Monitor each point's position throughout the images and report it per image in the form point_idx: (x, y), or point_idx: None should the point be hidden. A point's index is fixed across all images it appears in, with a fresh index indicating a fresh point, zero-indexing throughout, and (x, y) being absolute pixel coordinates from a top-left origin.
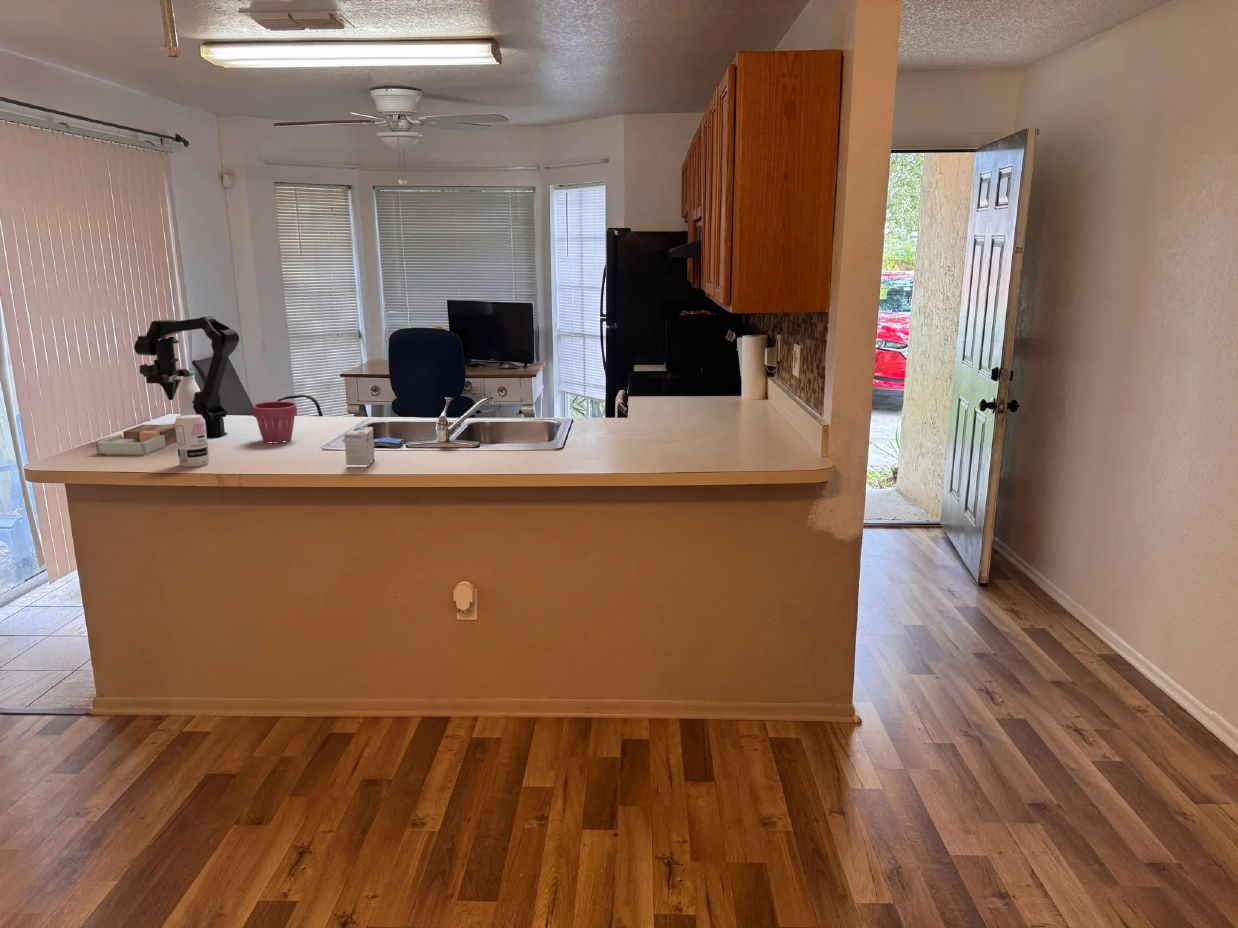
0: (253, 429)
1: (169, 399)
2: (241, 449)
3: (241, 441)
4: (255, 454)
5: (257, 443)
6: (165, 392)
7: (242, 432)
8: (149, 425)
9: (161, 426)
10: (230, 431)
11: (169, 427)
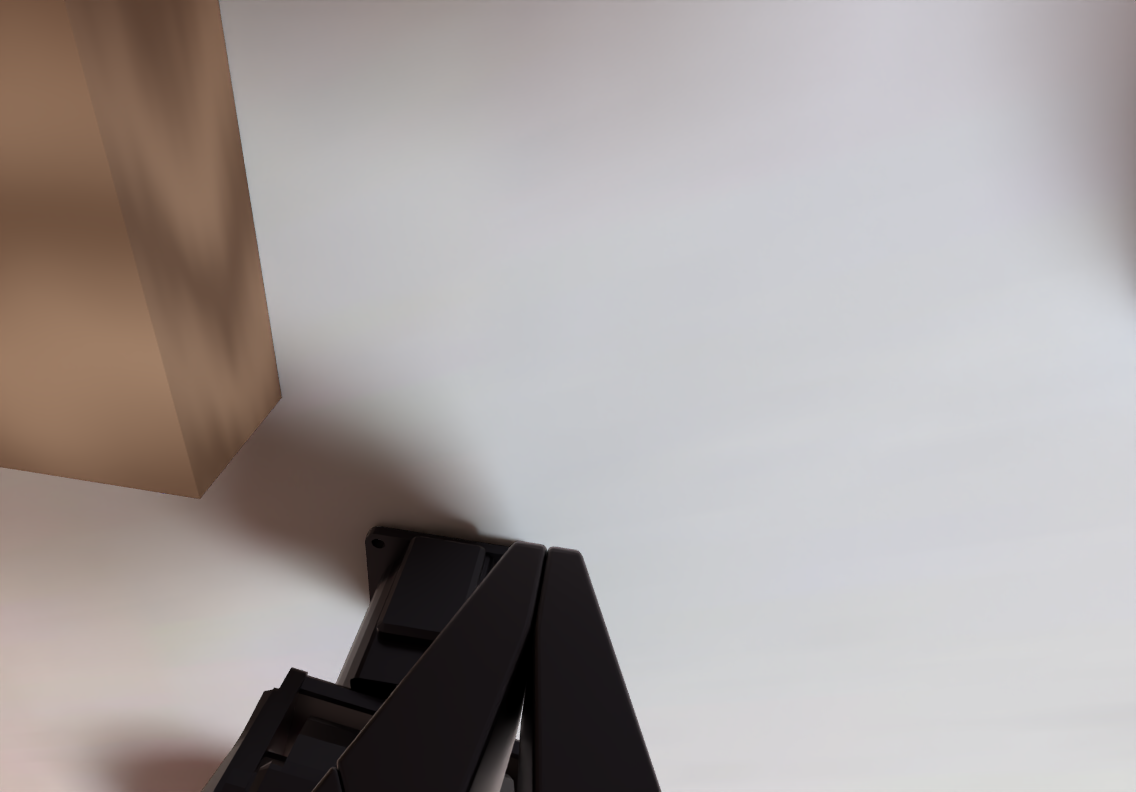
0: (700, 750)
1: (503, 568)
2: (89, 741)
3: None
4: (16, 785)
5: None
6: (356, 737)
7: None
8: (28, 119)
9: (37, 326)
10: (640, 653)
11: (27, 431)
